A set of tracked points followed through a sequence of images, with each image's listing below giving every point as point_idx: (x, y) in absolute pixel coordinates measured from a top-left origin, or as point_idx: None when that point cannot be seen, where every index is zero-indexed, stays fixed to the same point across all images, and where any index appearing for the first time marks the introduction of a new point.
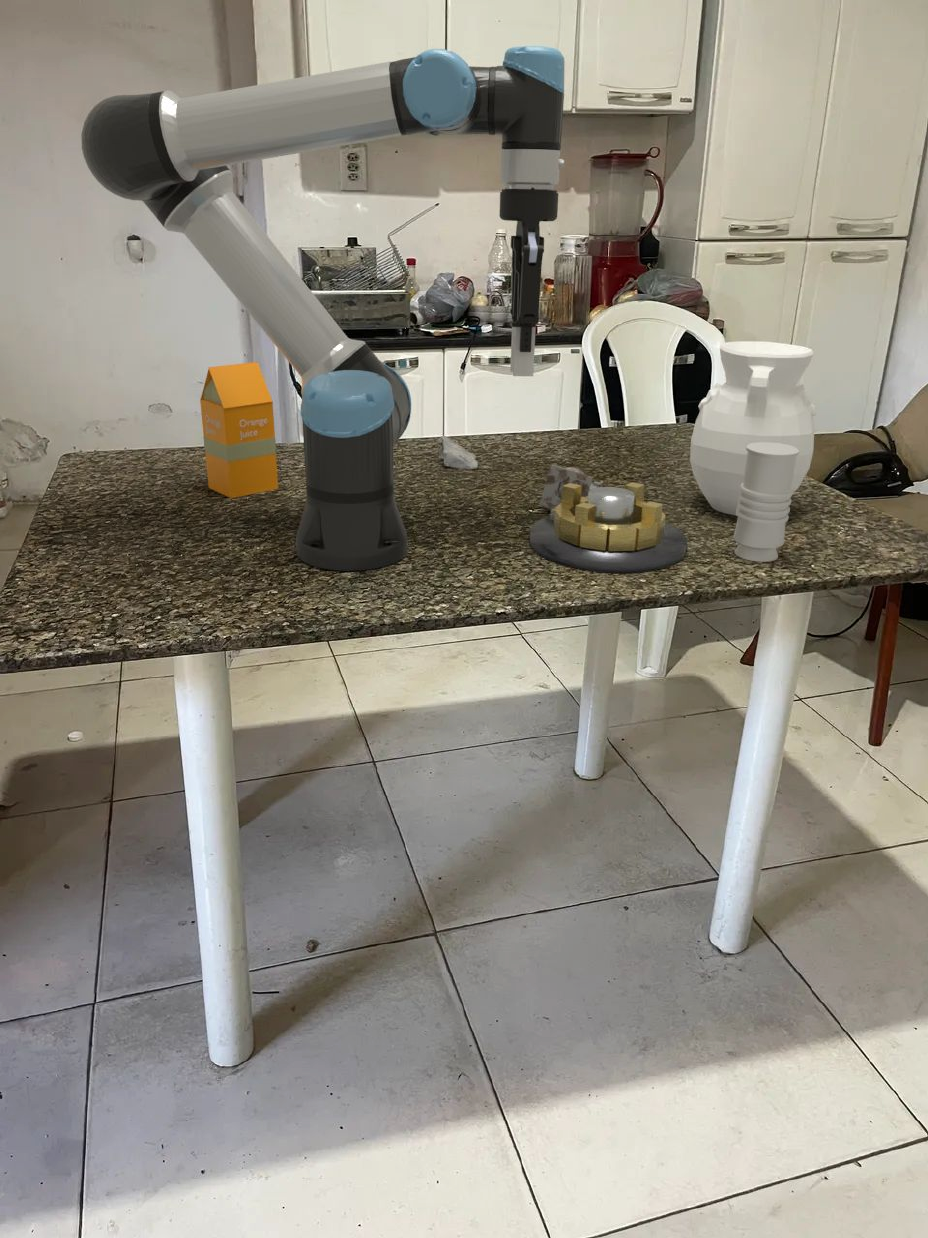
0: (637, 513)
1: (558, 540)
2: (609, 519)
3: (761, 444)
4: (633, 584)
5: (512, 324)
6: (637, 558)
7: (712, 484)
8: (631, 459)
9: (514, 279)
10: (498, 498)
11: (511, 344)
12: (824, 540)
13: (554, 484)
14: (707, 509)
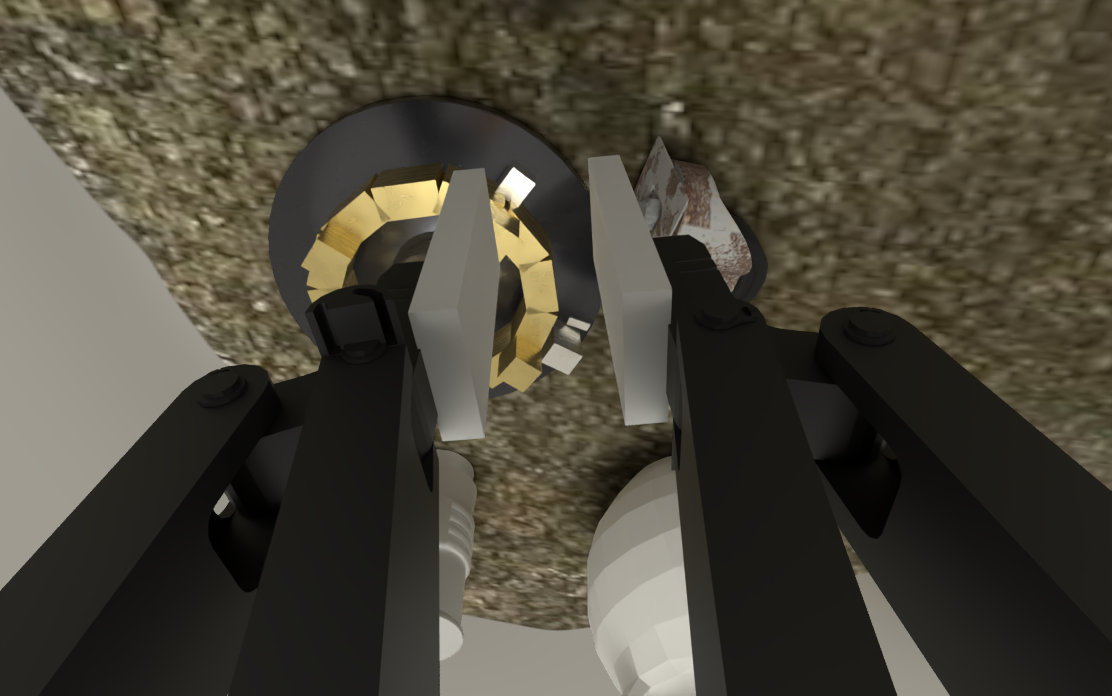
0: (493, 347)
1: (377, 168)
2: None
3: (441, 630)
4: (234, 289)
5: (311, 303)
6: None
7: (636, 488)
8: (1042, 368)
9: (879, 674)
10: (794, 11)
11: (636, 214)
12: (518, 551)
13: (664, 190)
14: (667, 447)
